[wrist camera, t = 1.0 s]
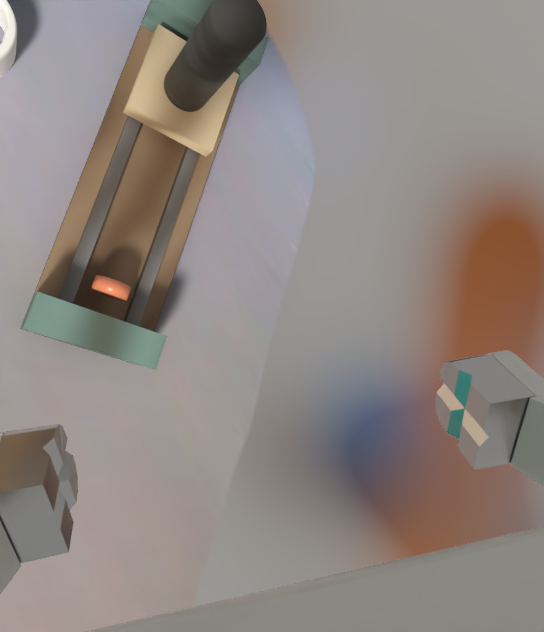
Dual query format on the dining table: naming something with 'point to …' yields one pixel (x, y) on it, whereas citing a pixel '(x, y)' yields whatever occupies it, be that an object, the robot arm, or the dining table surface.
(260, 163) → the dining table surface
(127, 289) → the button
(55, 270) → the rail track
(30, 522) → the robot arm
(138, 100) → the cylinder
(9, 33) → the white paint palette
